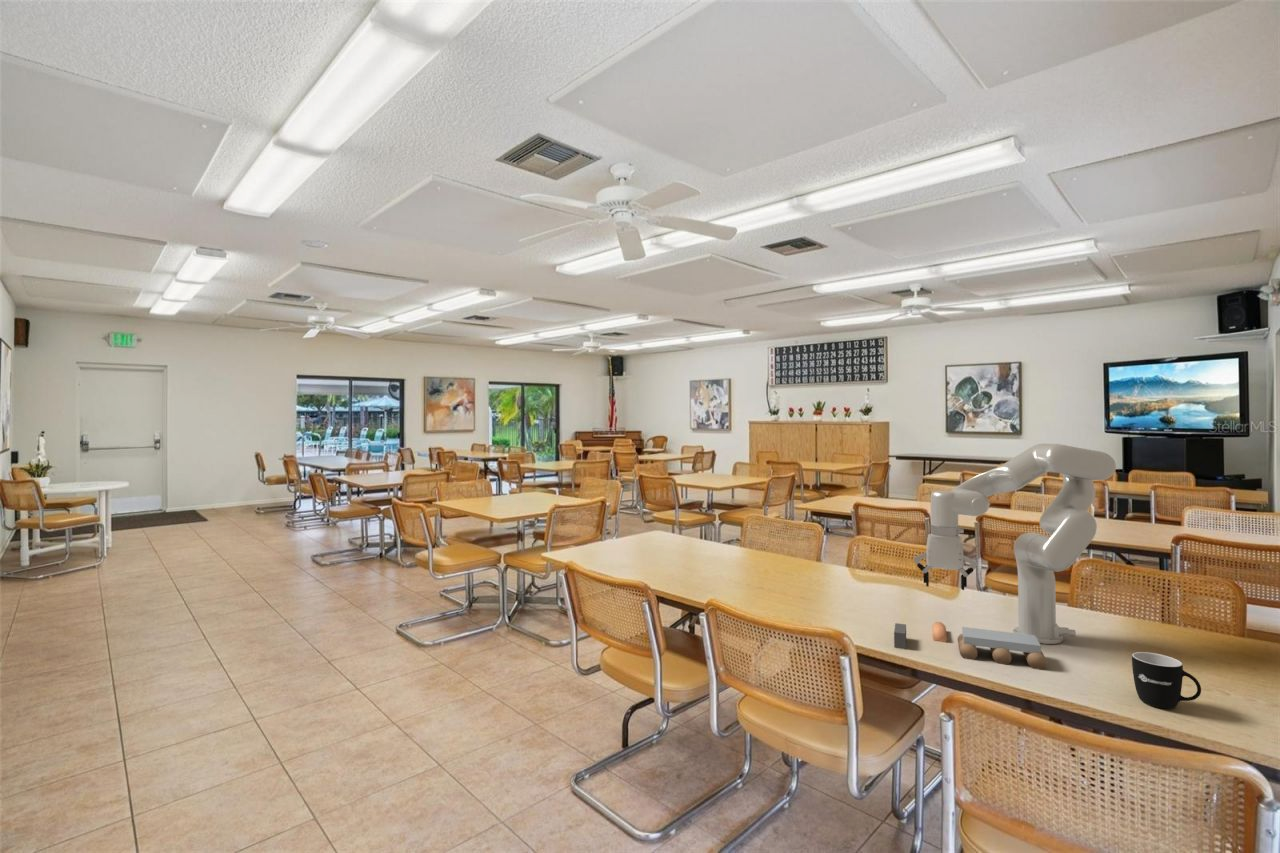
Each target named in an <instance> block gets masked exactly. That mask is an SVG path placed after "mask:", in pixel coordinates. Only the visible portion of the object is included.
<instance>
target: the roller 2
mask: <svg viewBox="0 0 1280 853" xmlns="http://www.w3.org/2000/svg"><path fill="white" fill-rule="evenodd" d="M957 643H958V644H957V645H958V651H959V655H960V656H961V658H963V659H965V660H973V661H974V660H976V659H977V657H978V649H977V646H973V645H971V644H964V641H963V636H962V633H960V634H959V635H958V636H957Z"/></svg>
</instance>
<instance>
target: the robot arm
mask: <svg viewBox="0 0 1280 853" xmlns="http://www.w3.org/2000/svg"><path fill="white" fill-rule="evenodd" d="M1116 470H1117V464H1116V462H1115V459H1114V458H1113V457H1112V456H1111V455H1110V454H1108V452H1107V453H1106V452H1104V451H1100V450H1092V449H1090V448H1089V449H1088V448H1082V447H1078V446H1077V447H1075V446H1072V445H1066V444H1061V443H1056V444H1055V443H1037V444H1034V445H1033V446H1031V447H1029V448H1027V449H1025V450H1024V451H1023V452H1021V453H1019V454H1018V455H1016V456H1014V457H1013V458H1011V459H1010V460H1008V461H1006V462H1005V463H1003V464H1001V465H1000V466H997V467H994V468H991V469H989V470H986V471H985V472H983V473H980V474H978V475H975V476H973V477H971V478H969V479H967V480H965V481H964V482H962V483H960V484H959V485H957V486H956V487H954V488H953V489H951V490H934V491H932V492H931V494H930V533H928V535H927V539H926V550H925V552H924V553H921V554H919V555H915V556H914V557H913V561H914V563H915V565H916V566H917V568H918V569H919V570H920V571H921V572H922V573H923V584H925V587H929V585H930V584H929V583H930V580H929V578H930V577H929V575H930V574H929V571H930V570H931V569H939V570H940V569H942V570H951V571H953V570H955V571H957V570H958V572H959V573H961V575H960V589H961V590H962V591H965V588H967V585H968V584H967V583H968V581H967V580H968V579H967V577H968V576H970V574H972V573H973V572H974V570H975V569H976V567H977V566H978V562H977V561H975V560H973V559H972V558H969V557H968V556H966V555H964V548H963V538H962V536H961V535H960V534H964V533H965V532H964V531H965V530H964V528H961V527H959V515H963V516H970V517H980V516H982V515H985V514H986V513H987V512H988V510H989V509H990V501H989V498H987V497H990V496H994V495H997V494H998V495H999V494H1004V493H1011V492H1016V491H1018V490H1021V489H1023V488H1024V487H1025V486H1027V485H1029V484H1030V483H1032V482H1034V481H1035V480H1037V479H1038V478H1040V477H1042V476H1045V474H1047V473H1056V474H1061V475H1062V476H1061V477H1062V487H1061V489H1060V491H1059V492H1058V493H1057V495H1056V496H1055V497H1054V498H1053V500H1052V501H1051V502H1050V504H1049V505H1048V506H1047V507H1046V508H1045V510H1044V511H1043V512H1042V514H1041V516H1040V518H1039V526H1040V528H1041V529H1042V531H1044V532H1045V533H1046V534H1042V533H1038V532H1033V531H1032V532H1025V533H1022V534H1021V535H1018V537H1017V538H1016V540H1015V541H1014V544H1013V545H1014V546H1013V553H1014V558H1015V561H1016V562H1015V563H1016V569H1017V593H1018V594H1017V598H1018V599H1017V600H1018V603H1017V604H1018V606H1017V608H1018V612H1017V613H1018V626H1017V627H1014V628H1013V629H1012V633H1019V634H1028V635H1035V636H1036V638H1037V640H1038V642H1039V643H1040V644H1045V645H1056V644H1060V643H1062V642H1063V640H1064V639H1063V636H1068V637H1074V638H1075V637H1076V632H1077V631H1076V630H1075V629H1069V627H1063V626H1061V627H1060V626H1059V625H1058V623H1057V608H1056V605H1057V604H1056V603H1057V601H1056V600H1057V599H1056V584H1057V583H1056V576H1055V572H1062V571H1066V570H1067V569H1068V568H1070V567H1071V566H1072V565H1073V564H1074V563H1075V562H1076V561H1077V560H1078V558H1079V557H1080V556H1081V555H1082V553H1083V552H1084V551H1085V550H1086V548H1087V547H1088V546H1089V545H1090V544H1091V542H1092V541H1093V539H1094V537H1095V536H1096V533H1097V529H1098V526H1097V525H1098V524H1097V521H1096V519H1095V517H1094V515H1092V514H1091V513H1090V512H1089V511H1088V510H1089V509H1090V507H1091V506H1092V504H1093V503H1094V501H1095V498H1096V489H1095V485H1094V481H1104V480H1108V479H1109V478H1111V477H1112V476H1113V475H1114V474H1115V473H1116ZM1047 534H1048V535H1047ZM1049 535H1050V536H1049ZM922 559H923V560H924V559H925V560H926V564H925V566H924V565H923V564H922V562H921V560H922ZM964 562H965V563H968V564H969V567H968V568H966V569H965V568H964Z"/></svg>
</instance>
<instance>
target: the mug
mask: <svg viewBox="0 0 1280 853" xmlns="http://www.w3.org/2000/svg"><path fill="white" fill-rule="evenodd" d="M1131 666H1132V676H1133V680H1134V681H1133V682H1134V687H1135V691H1136V694H1137V696H1138V698H1139V699H1140V701H1142V703H1144V704H1147V705H1149V706H1153V707H1155V708H1160V709H1174V708H1176V707H1177V706H1178V704H1179V703H1180V702H1190V701H1194V700H1196V699H1198V698H1199V697H1200V696H1201V693H1202V687H1201V686H1202V685H1201V684H1200V682H1199V681H1198V679H1197V678H1196V677H1195V676H1193V675H1192V674H1191V673H1189V672H1187V671H1185V670H1184V668H1183V666H1184V665H1183V662H1181V661H1180V660H1178V659H1176V658H1174V657H1171V656H1168V655H1165V654H1160V653H1156V652H1147V651H1144V652H1143V651H1138V652H1134V653H1132V655H1131ZM1184 677H1187V678H1189V679H1190V680H1192V681H1193V682H1194V684H1195V686H1196V692H1195V694H1194V695H1191V696H1183V695H1182V688H1183V678H1184Z"/></svg>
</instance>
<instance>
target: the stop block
mask: <svg viewBox="0 0 1280 853" xmlns="http://www.w3.org/2000/svg"><path fill="white" fill-rule="evenodd" d="M893 640H894V641H893V642H894V643H893V644H894V648H895V649H899V650H900V649H902V650H906V649H907V624H906V623H897V622H896V623H895V624H894V630H893Z"/></svg>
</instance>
